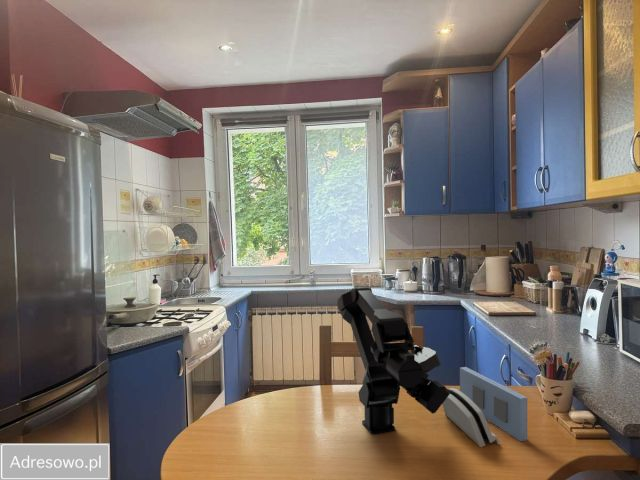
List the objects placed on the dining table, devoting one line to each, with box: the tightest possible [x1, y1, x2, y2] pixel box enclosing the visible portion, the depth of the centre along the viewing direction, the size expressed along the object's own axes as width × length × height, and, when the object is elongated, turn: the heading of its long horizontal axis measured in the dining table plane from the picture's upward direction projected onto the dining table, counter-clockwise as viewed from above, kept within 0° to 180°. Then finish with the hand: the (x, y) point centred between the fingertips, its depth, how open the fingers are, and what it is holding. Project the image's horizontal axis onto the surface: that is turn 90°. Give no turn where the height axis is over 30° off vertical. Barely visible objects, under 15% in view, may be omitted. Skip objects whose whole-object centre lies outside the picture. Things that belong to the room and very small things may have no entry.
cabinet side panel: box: [459, 366, 528, 442], centre depth 102 cm, size 2×22×10 cm, turn 17°
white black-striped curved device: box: [441, 387, 500, 447], centre depth 98 cm, size 17×5×10 cm, turn 10°
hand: (438, 405), depth 96 cm, fingers closed
